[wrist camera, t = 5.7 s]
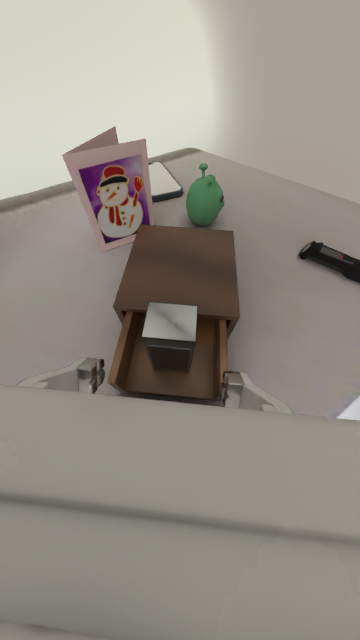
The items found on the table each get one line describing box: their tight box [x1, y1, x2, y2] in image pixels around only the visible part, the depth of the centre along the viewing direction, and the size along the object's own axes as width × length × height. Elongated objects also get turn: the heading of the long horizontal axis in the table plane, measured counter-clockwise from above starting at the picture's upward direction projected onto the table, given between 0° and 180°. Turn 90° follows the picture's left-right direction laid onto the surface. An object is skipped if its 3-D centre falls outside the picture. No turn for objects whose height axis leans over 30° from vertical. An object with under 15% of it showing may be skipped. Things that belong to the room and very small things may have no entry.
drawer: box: [107, 311, 228, 401], centre depth 22 cm, size 19×13×5 cm
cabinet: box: [113, 225, 240, 340], centre depth 29 cm, size 16×15×7 cm
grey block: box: [141, 302, 198, 373], centre depth 20 cm, size 4×4×10 cm
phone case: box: [148, 162, 183, 202], centre depth 50 cm, size 9×2×16 cm
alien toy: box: [186, 164, 224, 226], centre depth 38 cm, size 7×8×10 cm
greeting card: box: [62, 127, 155, 252], centre depth 33 cm, size 11×7×15 cm, turn 120°
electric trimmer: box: [298, 241, 360, 282], centre depth 34 cm, size 4×16×3 cm, turn 52°
